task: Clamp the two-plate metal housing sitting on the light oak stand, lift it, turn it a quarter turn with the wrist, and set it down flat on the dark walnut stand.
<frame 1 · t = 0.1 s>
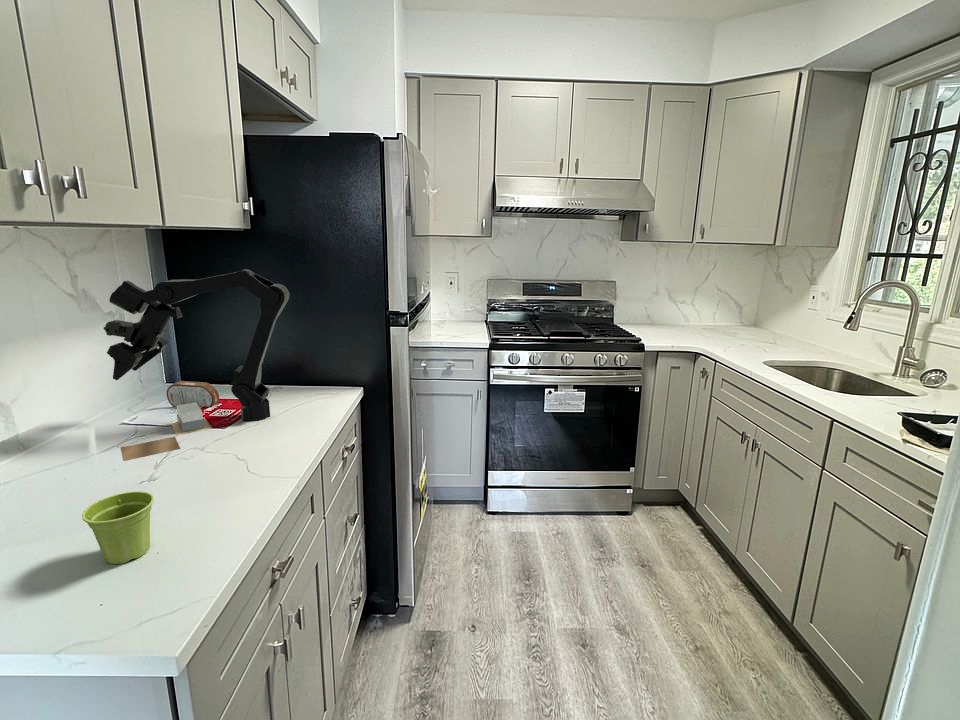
hand: (124, 374, 128), 15 cm above the table, tool tilted 35°, fingers open, 9 cm apart
oak stand: (192, 431, 130), on the table
housing: (191, 425, 130), point 1 cm above the table, touching oak stand
plant pot: (127, 554, 81), on the table
tin: (194, 410, 147), on the table
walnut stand: (151, 453, 117), on the table
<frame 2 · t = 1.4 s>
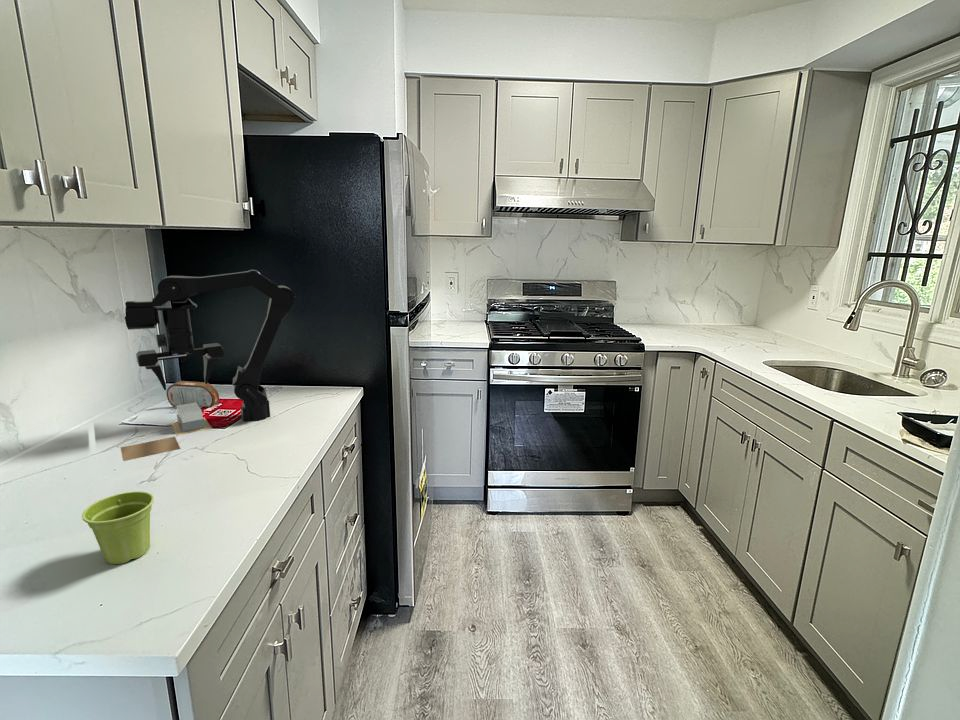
hand: (186, 386, 128), 12 cm above the table, tool pointing down, fingers open, 9 cm apart
nothing on the table moved.
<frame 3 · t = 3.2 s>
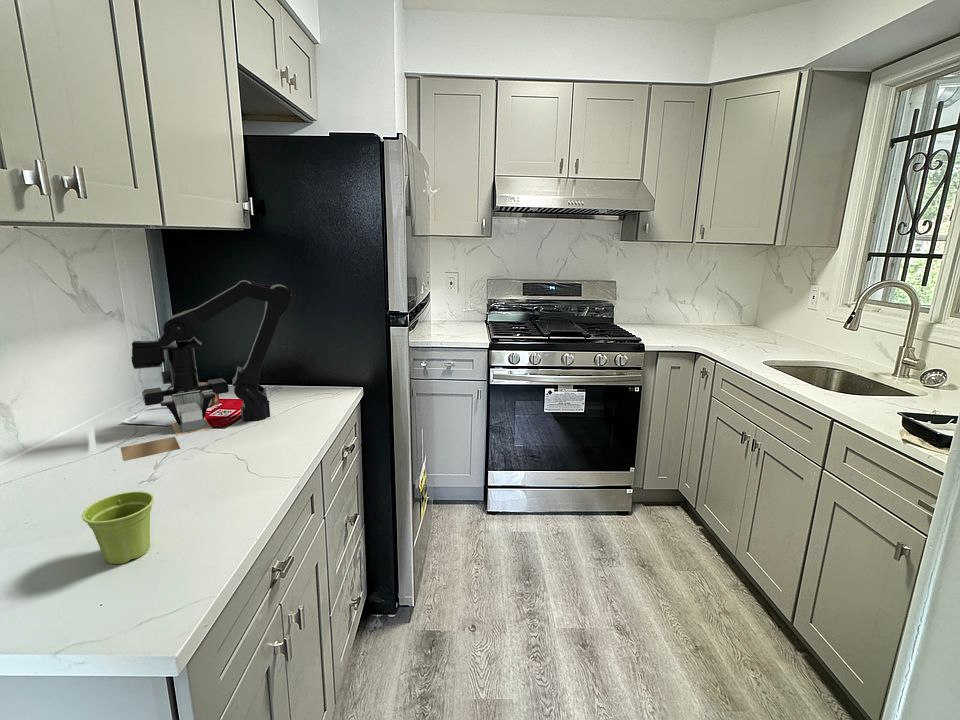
hand: (190, 422, 130), 3 cm above the table, tool pointing down, fingers closed on housing, 5 cm apart
housing: (191, 425, 130), point 2 cm above the table, touching gripper, oak stand
everything else where it was.
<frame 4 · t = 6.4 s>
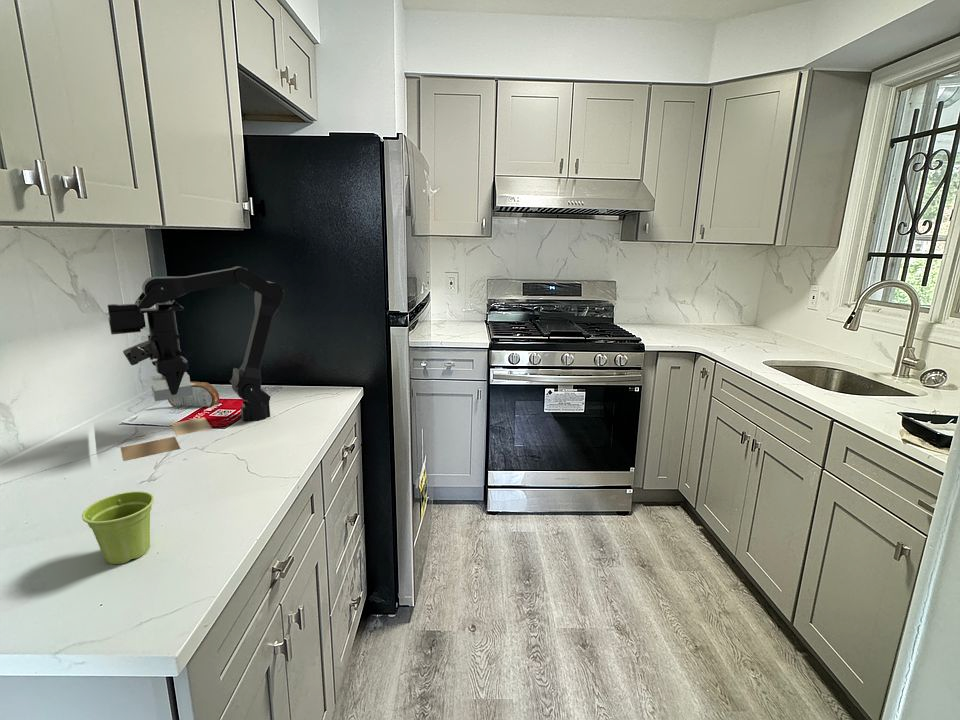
hand: (172, 391, 123), 12 cm above the table, tool pointing down, fingers closed on housing, 5 cm apart
housing: (173, 395, 123), point 11 cm above the table, touching gripper
everything else where it was.
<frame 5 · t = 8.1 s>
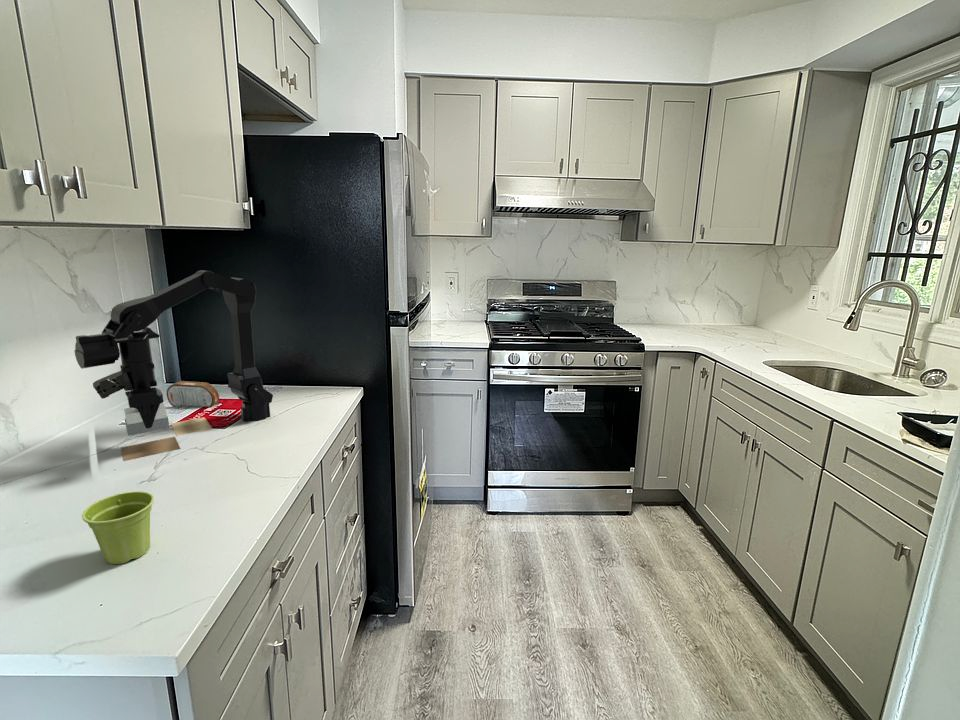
hand: (147, 424, 115), 7 cm above the table, tool pointing down, fingers closed on housing, 5 cm apart
housing: (148, 428, 115), point 6 cm above the table, touching gripper
everything else where it was.
when the fingers open (4 cm above the table, at t = 9.5 s): housing drops 1 cm, resting on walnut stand.
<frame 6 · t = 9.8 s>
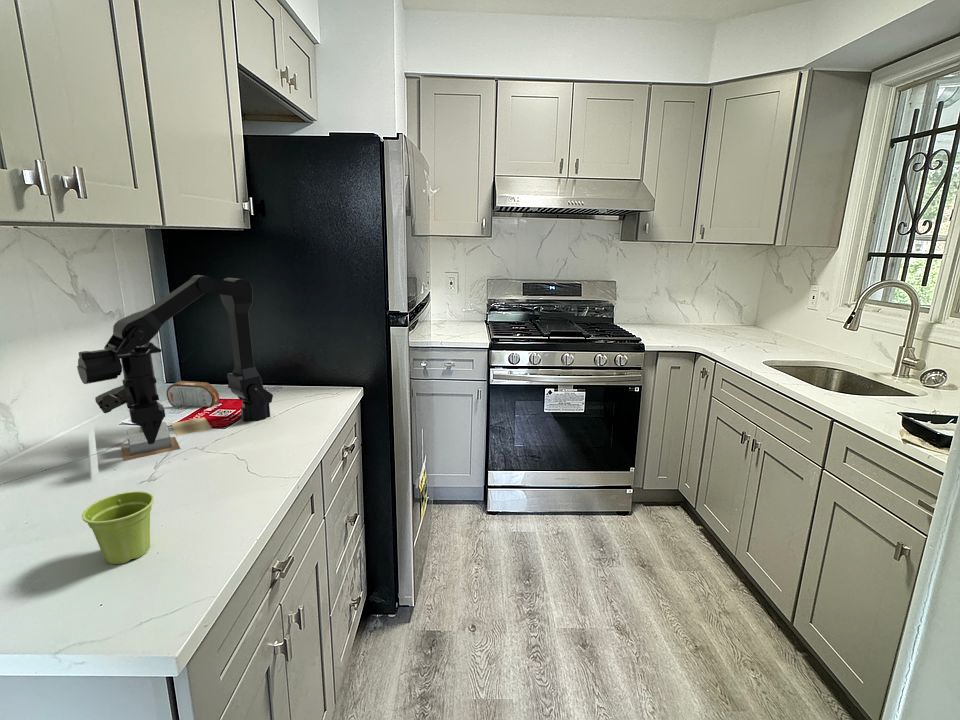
hand: (149, 438, 116), 4 cm above the table, tool pointing down, fingers open, 8 cm apart
housing: (150, 447, 117), point 1 cm above the table, touching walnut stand
everything else where it was.
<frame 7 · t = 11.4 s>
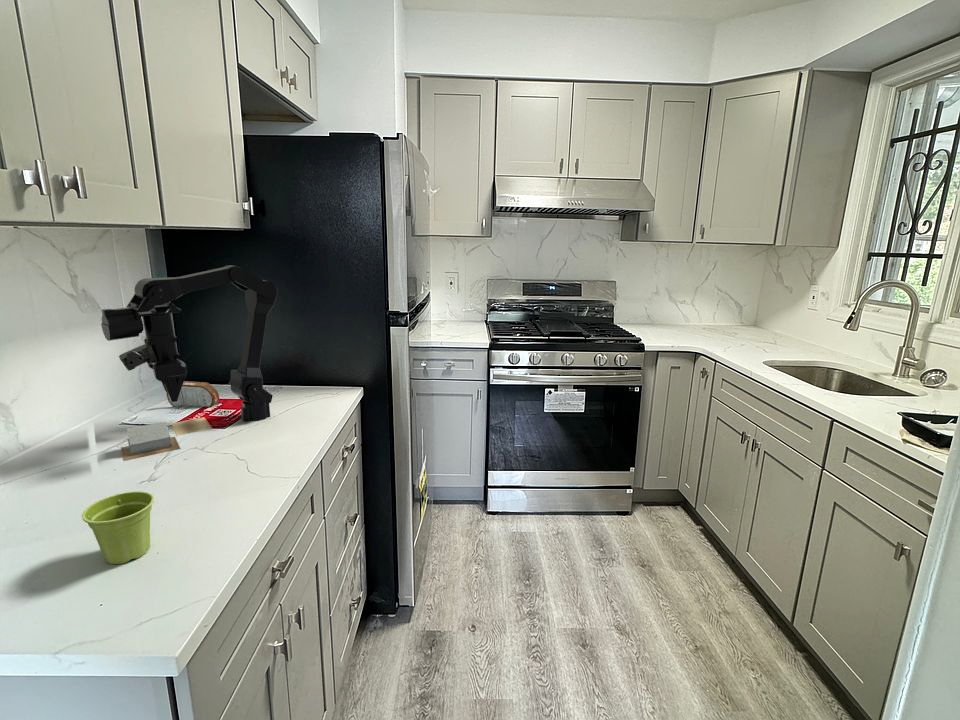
hand: (171, 396, 119), 12 cm above the table, tool pointing down, fingers open, 9 cm apart
nothing on the table moved.
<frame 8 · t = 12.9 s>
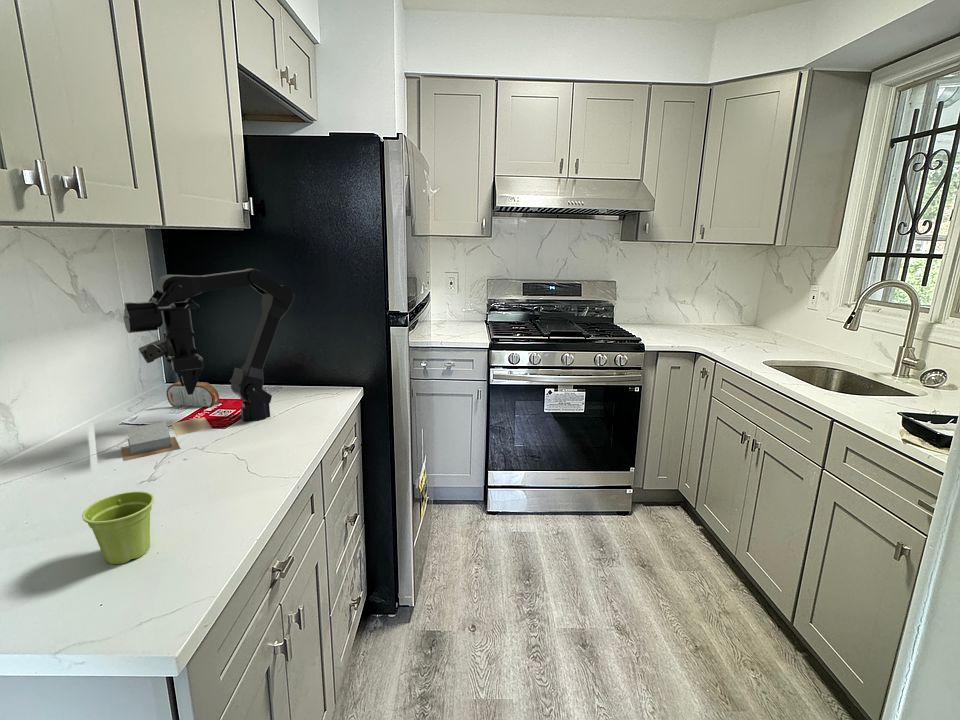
hand: (187, 389, 123), 13 cm above the table, tool pointing down, fingers open, 9 cm apart
nothing on the table moved.
at the end: housing 0.1 cm off-centre on the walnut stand, point 1.5 cm above the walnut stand's base; housing tilted 0°; housing touching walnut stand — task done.
